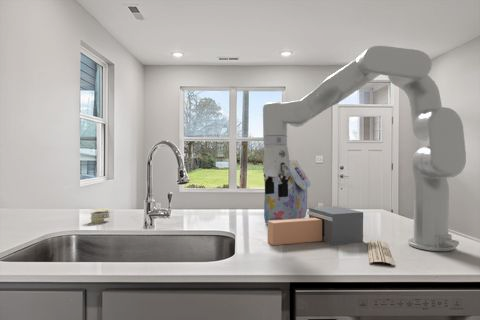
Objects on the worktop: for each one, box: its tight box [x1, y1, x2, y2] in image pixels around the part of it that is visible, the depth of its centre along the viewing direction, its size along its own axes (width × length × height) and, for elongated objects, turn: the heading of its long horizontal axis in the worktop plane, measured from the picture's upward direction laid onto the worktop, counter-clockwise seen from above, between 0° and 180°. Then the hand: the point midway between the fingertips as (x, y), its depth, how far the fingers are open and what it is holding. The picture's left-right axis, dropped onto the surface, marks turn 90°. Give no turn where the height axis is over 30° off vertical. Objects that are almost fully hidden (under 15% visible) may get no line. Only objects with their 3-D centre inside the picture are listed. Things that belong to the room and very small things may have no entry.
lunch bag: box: [263, 159, 311, 225], centre depth 149 cm, size 22×17×26 cm
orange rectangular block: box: [267, 217, 323, 246], centre depth 114 cm, size 4×18×7 cm, turn 110°
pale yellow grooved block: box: [89, 207, 111, 224], centre depth 146 cm, size 10×9×6 cm
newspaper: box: [366, 239, 395, 267], centre depth 101 cm, size 24×7×2 cm, turn 161°
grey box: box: [307, 205, 364, 245], centre depth 119 cm, size 14×13×10 cm
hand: (276, 195), depth 111 cm, fingers open, 9 cm apart
